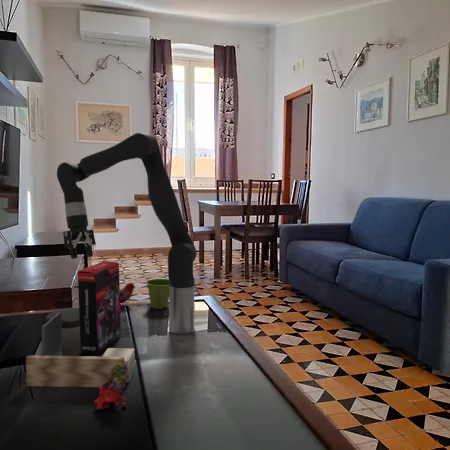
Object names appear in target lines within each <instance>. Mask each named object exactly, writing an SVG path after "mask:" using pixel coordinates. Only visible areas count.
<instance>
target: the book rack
mask: <svg viewBox="0 0 450 450" xmlns="http://www.w3.org/2000/svg"><path fill="white" fill-rule="evenodd" d="M135 349H136V348H125V347H124V348H120V347H118V348H116V347H115V348H114V347H109V348H107V347H106V350H105V352H104V353H103V354H102V356H95V355H93V356H91V355H90V356H89V355H88V356H86V355H85V356H84V355H83V356H81V355H80V356H79V355H62V356H42V355H32V354H31V355H30V354H29V355H27V356H26V357H25V367H26V368H25V370H26V371H25V372H26V379H27V382H26V387H54V388H55V387H58V388H59V387H60V388H61V387H62V388H63V387H65V388H66V387H68V388H69V387H70V388H71V387H72V388H73V387H75V388H100V386H101V385H102V384H104V383H105V382H106V381H107V378H108V376H109V374H110V371H111V370H112V368H113V367H114V366H115V365H117V364H118V363H122V364H126V365H127V369H126V376H125V377H126V380H125V382H124V386H123V388H124V387H125V383H130V381H131V379H132V377H133V375H134V372H135V370H136V368H137V360H136V359H135V355H136V354H135V351H136V350H135Z"/></svg>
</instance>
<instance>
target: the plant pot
mask: <svg viewBox="0 0 450 450" xmlns="http://www.w3.org/2000/svg"><path fill="white" fill-rule="evenodd" d="M145 283H146V285H147V289H148V296H149V301H150V302H149V303H150V306H151V307H150V308H153V309H155V310H162V309H167V307H169V291H170V281H169V278H168V279H167V278H152V279H148V280H146V281H145Z"/></svg>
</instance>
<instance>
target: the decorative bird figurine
mask: <svg viewBox="0 0 450 450" xmlns="http://www.w3.org/2000/svg"><path fill="white" fill-rule="evenodd" d="M135 288H136V286H135V284H134V283H132V282H129V283H128V284H126V285H125V286H123V288H122V289H121V288H120V308H121V307H125V306H127V305H128V304H124V303H126V302H127V301H128V300H130V298H131V297H132V295H133V292H134V290H135Z"/></svg>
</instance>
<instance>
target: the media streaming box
mask: <svg viewBox="0 0 450 450" xmlns="http://www.w3.org/2000/svg"><path fill="white" fill-rule="evenodd" d="M58 312H61V319H62V327H75V326H80V319H79V307H70V308H69V307H68V308H67V307H66V308H61V309H57V310H54V311H52V312H50V313H49V314H47V315H46V317H45V323H47V322H48V321H49V320H50V319H51V318H52V317H54V316H55V315H56V314H57V313H58Z"/></svg>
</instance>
